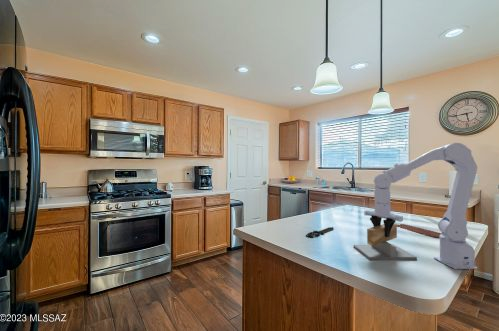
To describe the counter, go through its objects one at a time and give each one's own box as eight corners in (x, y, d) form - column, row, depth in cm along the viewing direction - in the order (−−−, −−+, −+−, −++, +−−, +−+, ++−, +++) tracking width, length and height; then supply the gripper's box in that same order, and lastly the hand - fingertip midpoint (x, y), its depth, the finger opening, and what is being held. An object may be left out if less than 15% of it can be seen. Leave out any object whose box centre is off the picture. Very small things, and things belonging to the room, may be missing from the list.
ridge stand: (416, 259, 88) (416, 246, 88) (369, 259, 88) (369, 246, 88) (394, 246, 102) (393, 235, 102) (353, 247, 102) (353, 235, 102)
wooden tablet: (452, 238, 115) (452, 234, 115) (437, 240, 112) (437, 236, 112) (404, 224, 141) (404, 222, 141) (390, 226, 138) (390, 223, 138)
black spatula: (331, 228, 135) (331, 225, 135) (341, 230, 129) (341, 228, 129) (302, 236, 120) (302, 233, 120) (312, 239, 114) (312, 236, 114)
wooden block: (396, 237, 99) (396, 223, 99) (374, 245, 89) (374, 230, 89) (389, 235, 101) (389, 222, 101) (367, 243, 91) (367, 228, 91)
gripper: (406, 204, 91) (406, 238, 91) (370, 199, 103) (370, 229, 103) (397, 206, 87) (398, 241, 87) (361, 201, 99) (361, 232, 99)
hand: (382, 235), depth 95 cm, fingers open, 3 cm apart
